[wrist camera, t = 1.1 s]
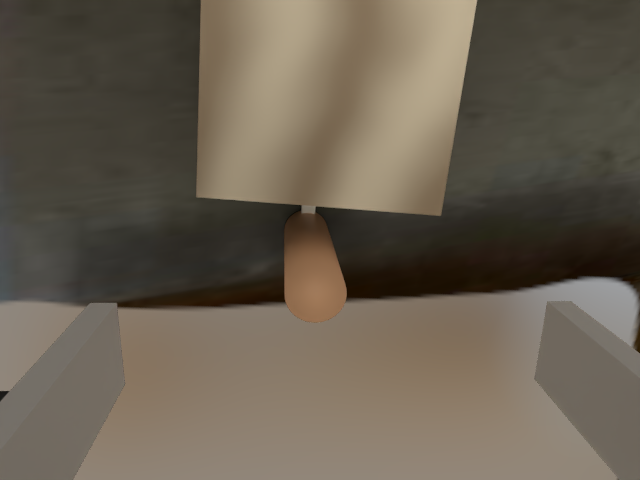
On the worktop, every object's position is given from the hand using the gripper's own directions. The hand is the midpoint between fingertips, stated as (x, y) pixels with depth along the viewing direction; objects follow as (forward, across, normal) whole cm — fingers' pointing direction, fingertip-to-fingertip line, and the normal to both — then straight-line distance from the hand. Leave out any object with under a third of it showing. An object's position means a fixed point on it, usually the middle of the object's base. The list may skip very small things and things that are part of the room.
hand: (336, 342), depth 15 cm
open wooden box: (+20, 0, +8) cm, 21 cm away
